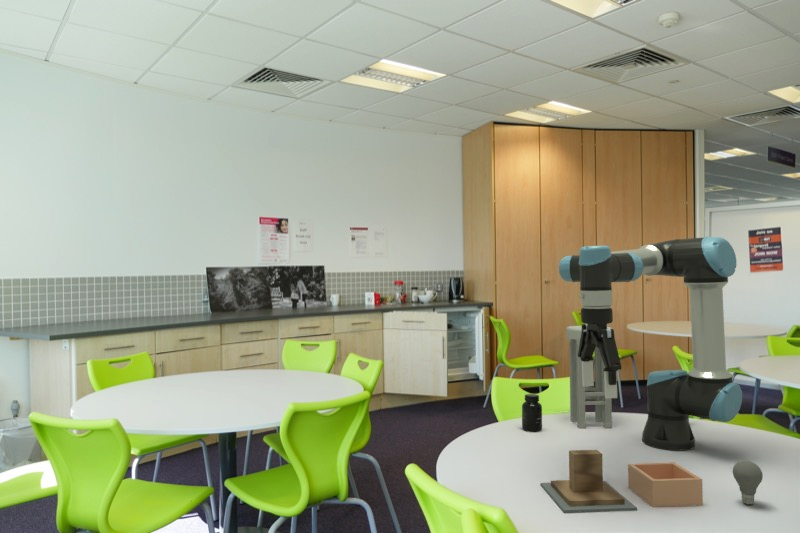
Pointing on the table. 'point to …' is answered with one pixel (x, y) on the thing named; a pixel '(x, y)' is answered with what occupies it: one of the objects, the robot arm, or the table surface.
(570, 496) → the lid
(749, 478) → the light bulb
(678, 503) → the open tan tray
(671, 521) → the table surface
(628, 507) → the mat
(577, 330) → the stool
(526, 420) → the supplement bottle
